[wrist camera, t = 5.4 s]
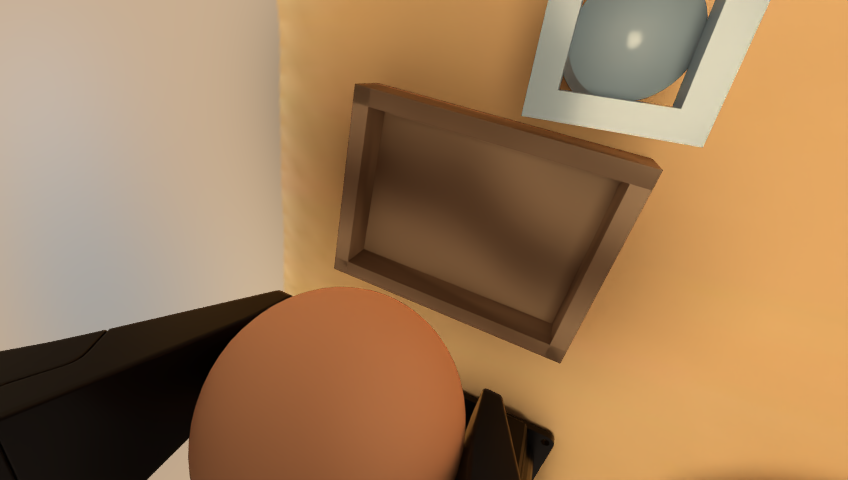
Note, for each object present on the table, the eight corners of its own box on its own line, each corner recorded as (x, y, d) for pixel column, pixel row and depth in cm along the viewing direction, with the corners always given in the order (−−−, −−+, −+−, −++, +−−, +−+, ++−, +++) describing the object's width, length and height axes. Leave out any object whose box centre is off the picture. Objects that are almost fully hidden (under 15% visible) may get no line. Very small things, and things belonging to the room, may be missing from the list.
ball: (400, 571, 8) (325, 816, 4) (236, 445, 10) (25, 507, 5) (497, 367, 10) (532, 355, 5) (342, 279, 11) (255, 204, 6)
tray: (561, 336, 20) (560, 363, 18) (354, 252, 23) (334, 268, 21) (652, 159, 15) (662, 170, 14) (377, 83, 18) (354, 83, 17)
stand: (656, 121, 15) (702, 147, 9) (541, 102, 16) (521, 115, 11) (709, -15, 13) (809, -85, 7) (573, -25, 14) (569, -91, 9)
